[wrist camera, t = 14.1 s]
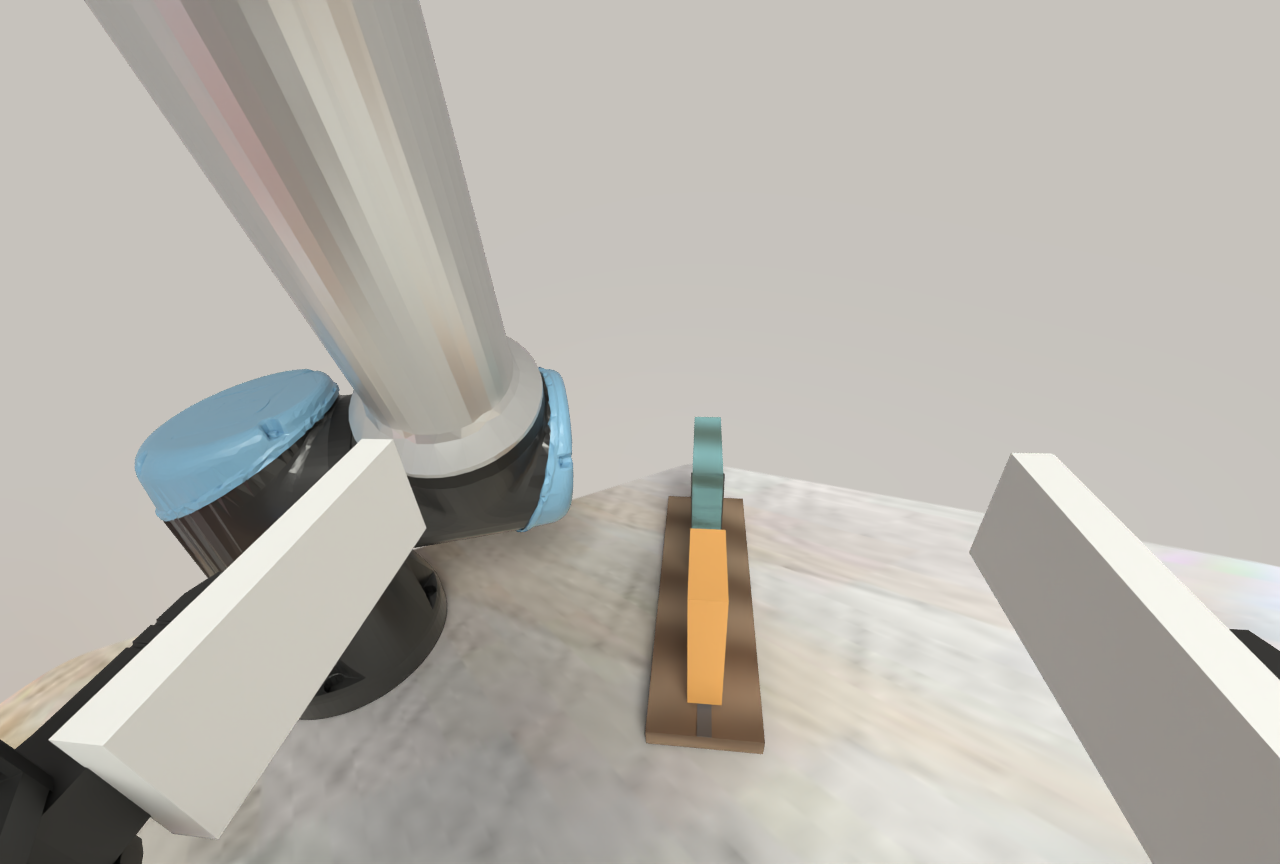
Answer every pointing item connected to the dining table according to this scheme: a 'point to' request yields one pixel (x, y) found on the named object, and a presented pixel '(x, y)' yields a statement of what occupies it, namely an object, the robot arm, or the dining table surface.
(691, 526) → the ticket stand
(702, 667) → the stub
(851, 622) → the dining table surface
